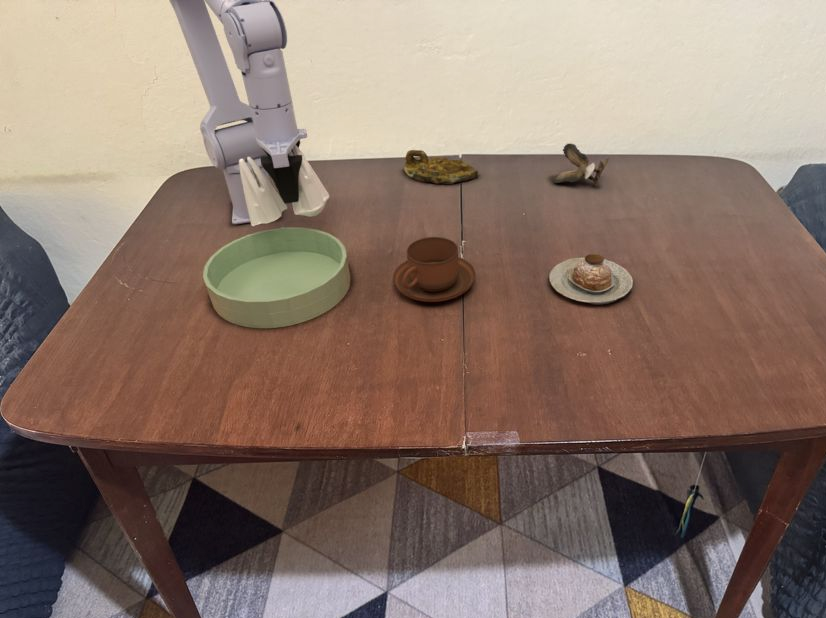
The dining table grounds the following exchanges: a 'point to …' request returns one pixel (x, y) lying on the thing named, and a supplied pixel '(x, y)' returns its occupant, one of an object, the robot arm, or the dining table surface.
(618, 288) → the pastry
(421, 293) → the cup and saucer
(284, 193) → the robot arm
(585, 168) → the eagle figurine
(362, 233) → the dining table surface
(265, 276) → the bowl
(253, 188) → the shaker set
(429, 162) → the seal
